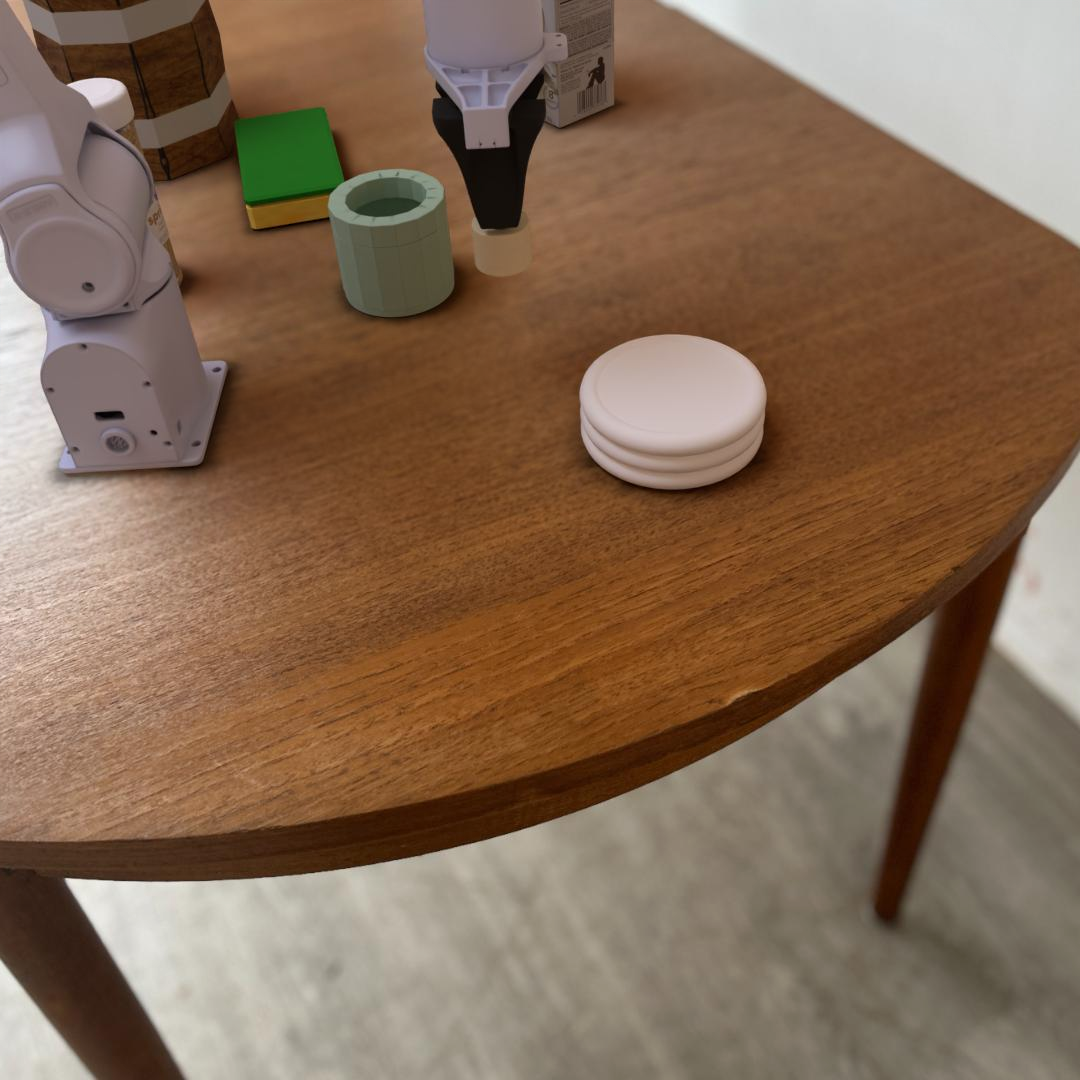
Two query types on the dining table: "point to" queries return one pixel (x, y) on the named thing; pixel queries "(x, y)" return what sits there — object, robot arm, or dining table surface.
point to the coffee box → (579, 60)
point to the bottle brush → (502, 248)
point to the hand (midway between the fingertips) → (499, 214)
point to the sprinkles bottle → (118, 115)
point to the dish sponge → (287, 166)
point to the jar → (392, 242)
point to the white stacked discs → (672, 411)
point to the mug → (148, 70)
